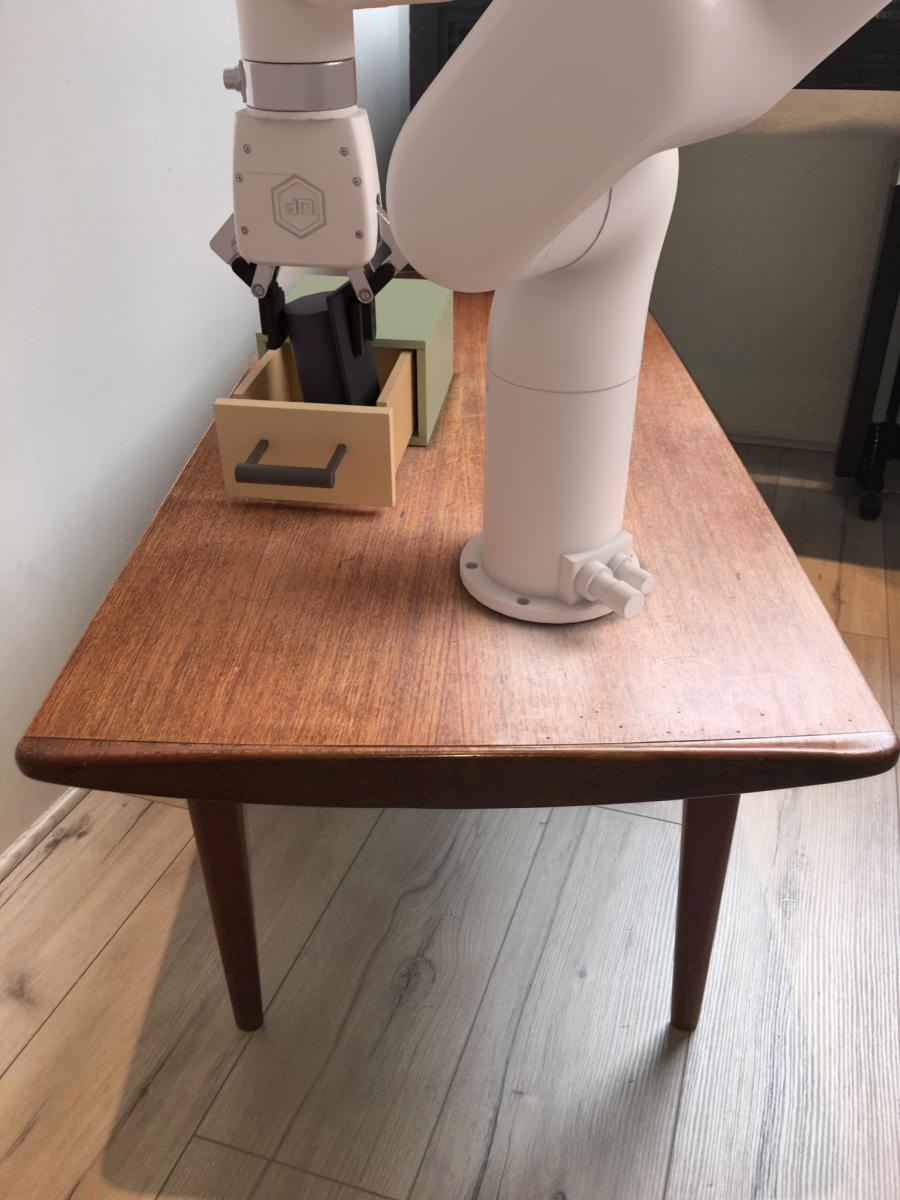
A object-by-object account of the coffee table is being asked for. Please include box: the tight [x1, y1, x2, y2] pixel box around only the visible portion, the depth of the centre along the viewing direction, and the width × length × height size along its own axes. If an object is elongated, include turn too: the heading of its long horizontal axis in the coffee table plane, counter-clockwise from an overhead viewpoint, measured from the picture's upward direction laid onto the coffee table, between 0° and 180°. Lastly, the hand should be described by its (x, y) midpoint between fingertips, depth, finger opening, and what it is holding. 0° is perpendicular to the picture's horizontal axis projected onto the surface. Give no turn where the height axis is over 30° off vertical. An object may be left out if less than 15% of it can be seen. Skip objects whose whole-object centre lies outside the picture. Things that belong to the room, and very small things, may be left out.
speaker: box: [283, 280, 381, 407], centre depth 78 cm, size 8×6×10 cm
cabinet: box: [255, 274, 454, 447], centre depth 92 cm, size 17×15×10 cm
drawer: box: [212, 343, 417, 508], centre depth 79 cm, size 21×13×8 cm, turn 172°
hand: (320, 344), depth 77 cm, fingers closed on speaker, 6 cm apart
